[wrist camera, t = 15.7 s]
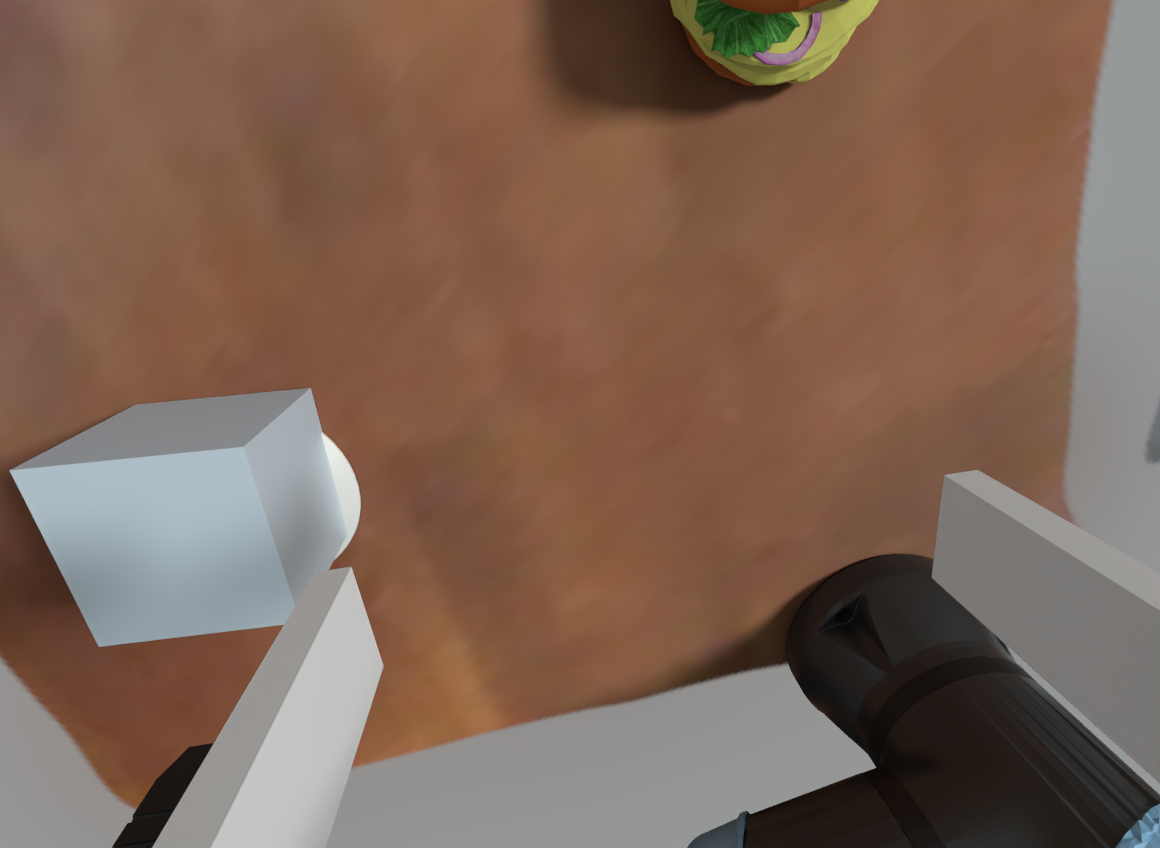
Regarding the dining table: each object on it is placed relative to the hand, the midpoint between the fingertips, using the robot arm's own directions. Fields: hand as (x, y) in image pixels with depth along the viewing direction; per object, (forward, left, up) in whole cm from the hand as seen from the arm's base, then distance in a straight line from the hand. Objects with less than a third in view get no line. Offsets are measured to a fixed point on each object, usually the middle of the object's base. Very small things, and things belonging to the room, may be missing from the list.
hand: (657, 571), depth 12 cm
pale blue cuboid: (-7, +21, -24) cm, 32 cm away
